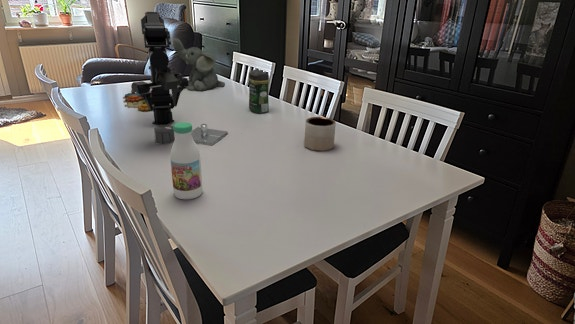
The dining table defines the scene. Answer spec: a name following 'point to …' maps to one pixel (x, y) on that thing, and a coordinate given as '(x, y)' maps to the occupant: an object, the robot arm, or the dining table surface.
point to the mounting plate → (207, 135)
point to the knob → (164, 134)
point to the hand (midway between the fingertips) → (163, 108)
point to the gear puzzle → (135, 101)
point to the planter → (319, 133)
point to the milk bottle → (185, 163)
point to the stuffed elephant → (199, 67)
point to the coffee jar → (258, 91)
